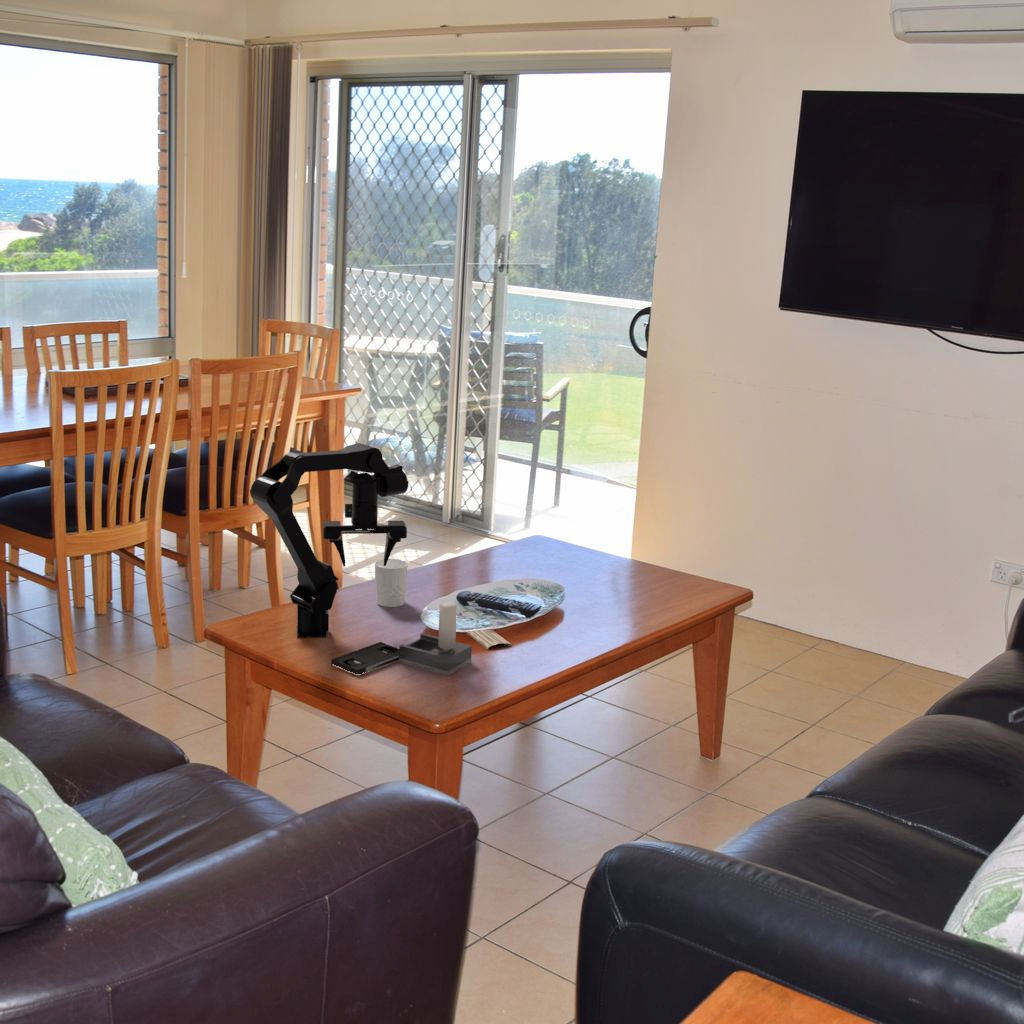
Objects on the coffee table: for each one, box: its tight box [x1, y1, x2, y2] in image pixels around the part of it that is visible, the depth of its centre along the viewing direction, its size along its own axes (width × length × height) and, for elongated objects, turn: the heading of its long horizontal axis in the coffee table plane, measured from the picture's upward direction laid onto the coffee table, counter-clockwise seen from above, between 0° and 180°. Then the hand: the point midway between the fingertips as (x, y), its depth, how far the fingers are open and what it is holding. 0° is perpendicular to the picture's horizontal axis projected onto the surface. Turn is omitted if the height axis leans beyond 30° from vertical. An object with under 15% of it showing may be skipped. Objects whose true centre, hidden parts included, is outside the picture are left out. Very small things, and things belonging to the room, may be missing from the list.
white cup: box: [374, 558, 409, 608], centre depth 286 cm, size 8×8×10 cm
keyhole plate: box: [398, 633, 473, 677], centre depth 252 cm, size 12×9×4 cm
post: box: [438, 601, 458, 652], centre depth 249 cm, size 5×5×12 cm
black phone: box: [331, 641, 399, 674], centre depth 251 cm, size 14×8×2 cm, turn 141°
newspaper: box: [466, 629, 512, 650], centre depth 272 cm, size 24×7×2 cm, turn 27°
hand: (364, 565), depth 272 cm, fingers open, 9 cm apart
